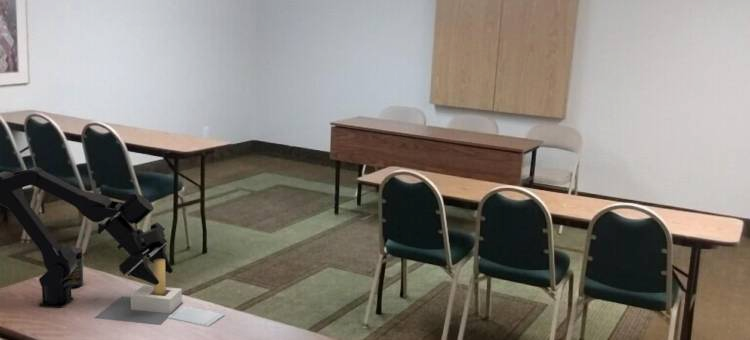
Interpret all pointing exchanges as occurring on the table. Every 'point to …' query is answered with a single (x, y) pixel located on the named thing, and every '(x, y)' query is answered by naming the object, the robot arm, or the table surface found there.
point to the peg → (160, 277)
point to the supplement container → (77, 269)
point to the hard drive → (196, 316)
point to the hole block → (156, 299)
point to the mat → (132, 313)
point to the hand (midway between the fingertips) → (165, 277)
